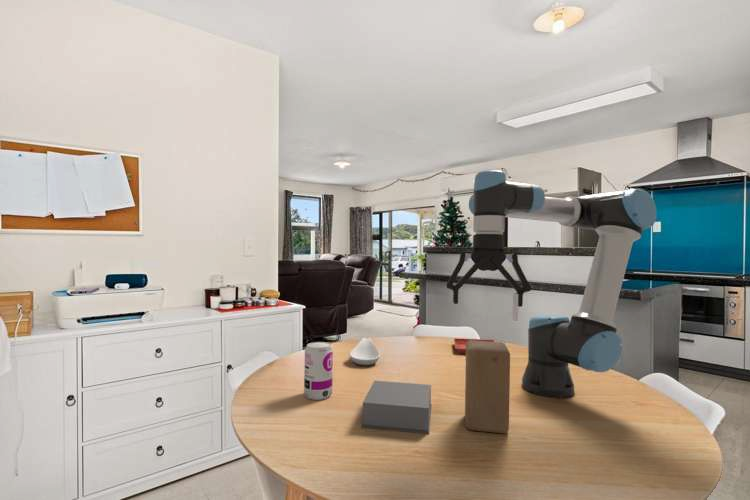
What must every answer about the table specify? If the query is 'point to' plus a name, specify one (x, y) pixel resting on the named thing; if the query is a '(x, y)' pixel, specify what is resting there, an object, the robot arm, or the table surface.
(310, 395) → the supplement can
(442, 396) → the table surface
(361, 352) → the spoon rest
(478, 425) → the wooden block
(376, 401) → the charcoal base block
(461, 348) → the plant saucer
